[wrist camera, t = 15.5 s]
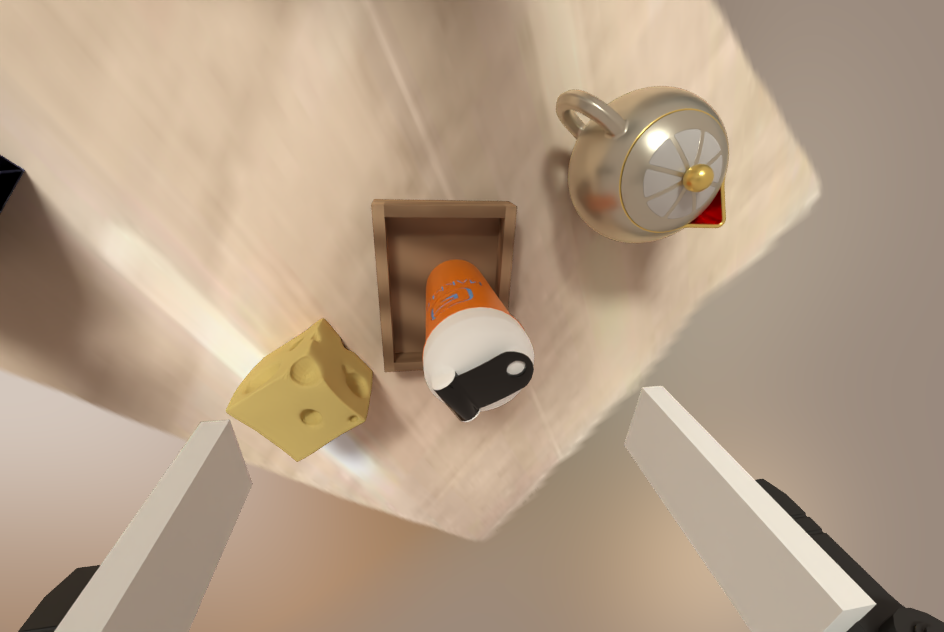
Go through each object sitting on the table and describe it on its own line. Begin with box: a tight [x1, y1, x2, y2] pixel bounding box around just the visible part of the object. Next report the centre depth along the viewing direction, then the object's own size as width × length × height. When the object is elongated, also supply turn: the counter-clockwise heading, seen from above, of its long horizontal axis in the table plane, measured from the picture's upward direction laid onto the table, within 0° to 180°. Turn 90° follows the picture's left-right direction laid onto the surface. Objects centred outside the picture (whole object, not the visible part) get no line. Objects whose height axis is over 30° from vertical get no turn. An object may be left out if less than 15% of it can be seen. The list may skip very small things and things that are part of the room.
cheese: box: [226, 318, 373, 462], centre depth 43 cm, size 10×11×10 cm
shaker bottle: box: [422, 259, 534, 422], centre depth 35 cm, size 9×9×20 cm
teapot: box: [556, 86, 729, 243], centre depth 34 cm, size 18×14×16 cm
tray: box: [371, 199, 517, 372], centre depth 43 cm, size 20×15×4 cm
